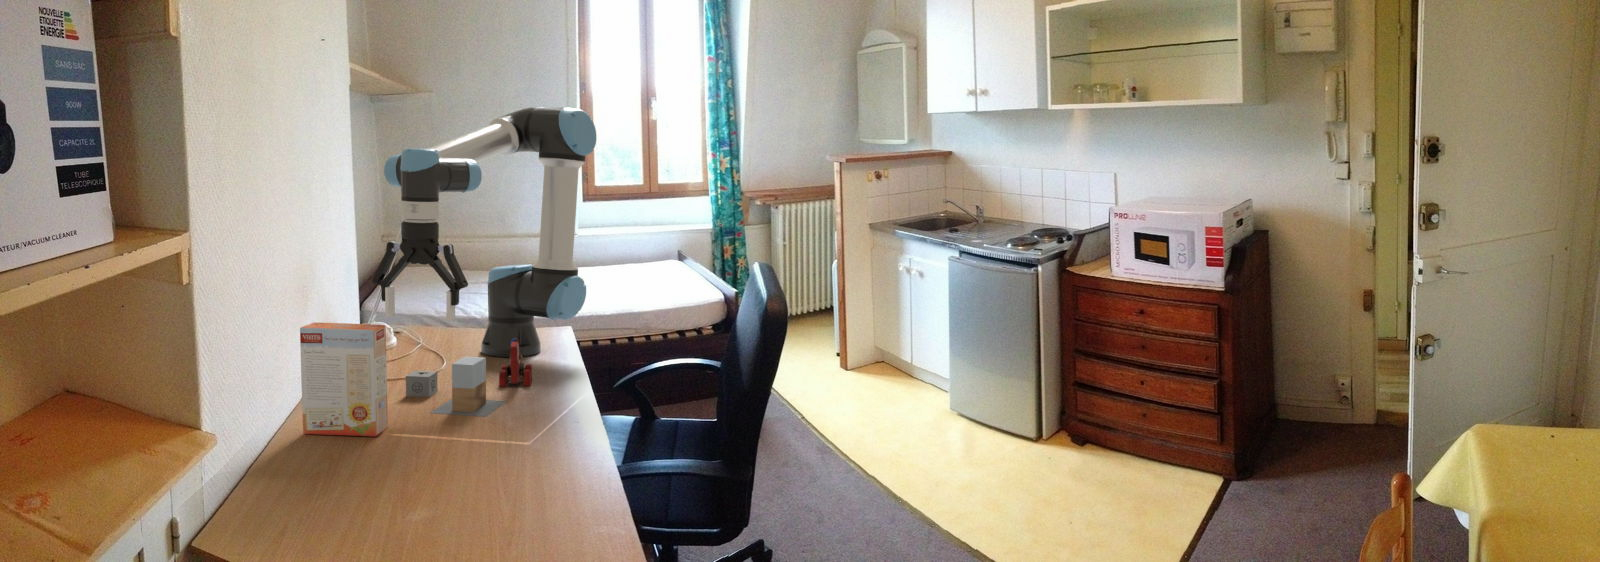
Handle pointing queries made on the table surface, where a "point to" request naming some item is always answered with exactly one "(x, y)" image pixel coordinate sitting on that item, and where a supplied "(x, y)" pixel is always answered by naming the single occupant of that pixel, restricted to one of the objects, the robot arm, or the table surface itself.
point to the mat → (482, 411)
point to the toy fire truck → (515, 368)
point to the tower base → (468, 398)
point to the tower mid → (468, 372)
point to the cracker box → (344, 379)
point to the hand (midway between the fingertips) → (420, 318)
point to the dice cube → (421, 384)
